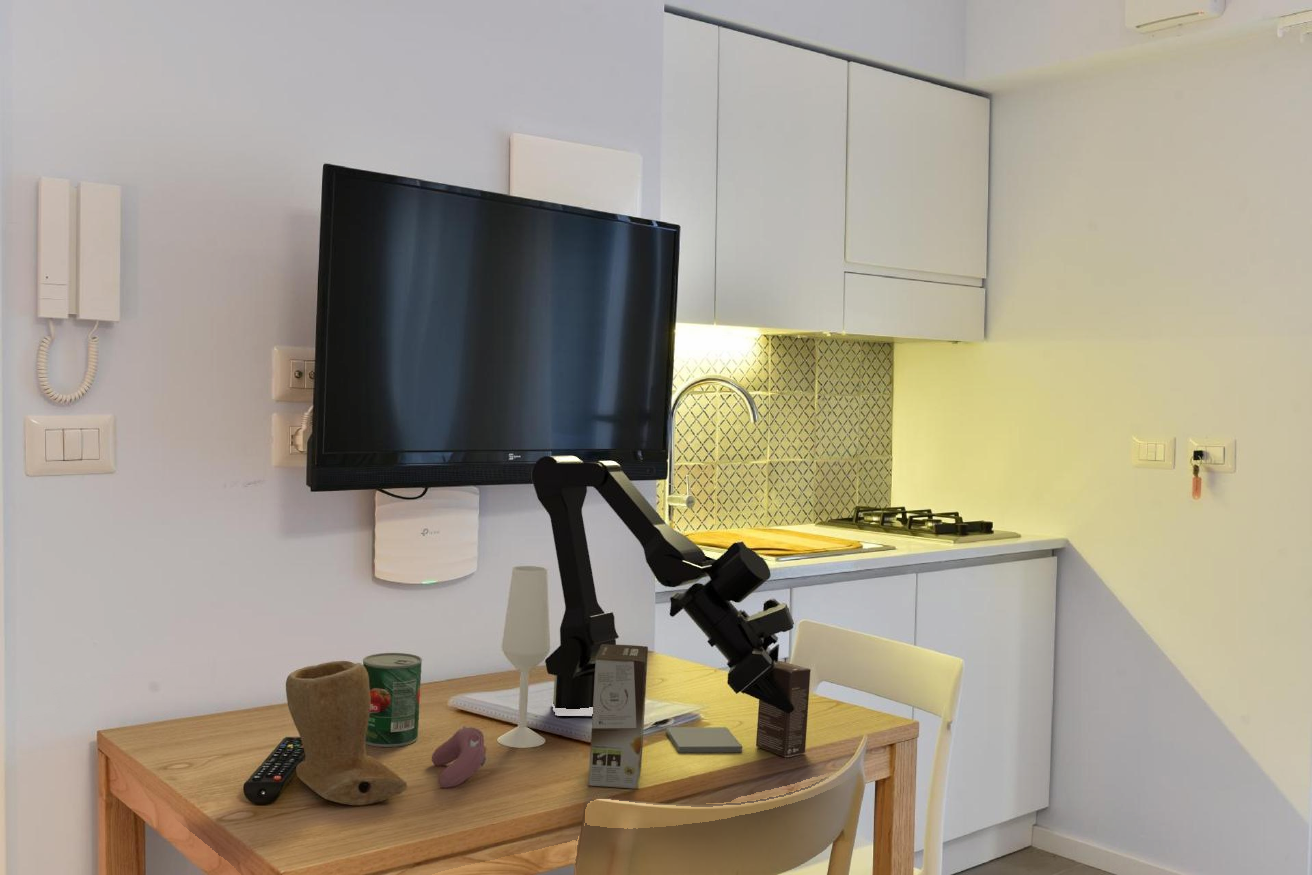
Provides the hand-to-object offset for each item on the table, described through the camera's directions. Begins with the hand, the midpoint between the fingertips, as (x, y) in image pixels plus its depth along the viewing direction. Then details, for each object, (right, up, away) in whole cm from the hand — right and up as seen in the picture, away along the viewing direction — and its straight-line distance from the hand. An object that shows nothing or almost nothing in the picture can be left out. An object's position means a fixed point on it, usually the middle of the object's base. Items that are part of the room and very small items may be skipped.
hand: (793, 704), depth 160 cm
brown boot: (-57, -5, -24) cm, 62 cm away
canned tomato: (-56, -4, -4) cm, 56 cm away
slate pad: (-13, -6, +2) cm, 14 cm away
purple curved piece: (-44, -5, -17) cm, 47 cm away
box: (-2, -7, 0) cm, 7 cm away
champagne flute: (-38, -5, -1) cm, 38 cm away
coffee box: (-24, -6, -14) cm, 29 cm away
